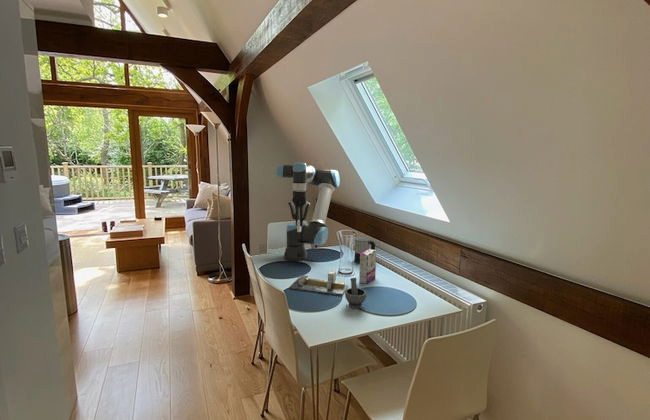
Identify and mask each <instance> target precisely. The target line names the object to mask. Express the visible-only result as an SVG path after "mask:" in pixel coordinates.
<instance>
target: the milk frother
mask: <svg viewBox="0 0 650 420" xmlns="http://www.w3.org/2000/svg"><path fill="white" fill-rule="evenodd" d="M355 238H356V239H355ZM355 238H354V257H353V258H354V259H353V261H354V262H355V263H358V264H360V254H361V253H363V252H364V251H366V250H368V249H372V250H376V243H375V242H374V241H373V240H370V239H369V238H368V237H361V236H360V237H355ZM369 246H370V248H369Z"/></svg>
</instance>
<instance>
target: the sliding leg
mask: <svg viewBox="0 0 650 420" xmlns="http://www.w3.org/2000/svg"><path fill="white" fill-rule="evenodd" d="M336 280H337V271H336V270H331V269H330V270H329V271H328V272H327V280H326V281H327V289H331V284H332V283H334V282H337V281H336Z"/></svg>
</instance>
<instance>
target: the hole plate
mask: <svg viewBox="0 0 650 420" xmlns="http://www.w3.org/2000/svg"><path fill="white" fill-rule="evenodd" d="M348 287H349V285H348V284H345V287H344V288H339V287H332V286H331V289H327V286H324V285H317V284H310V283H304V284H303V285H302V286H299V282H298V278H297V279H296V280H295V281H294V282H293V283H292V284H291V285H290V286H289V289H290V290H297V291H304V290H307V291H306V292H311V291H315V292H314V293H318V292H322V293H321V294H325V293H330V294H329V295H332V294H336V295H335V296H339V295H340V296H339V297H343V296H344V295H345V291H346V290H347V289H348Z"/></svg>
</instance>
